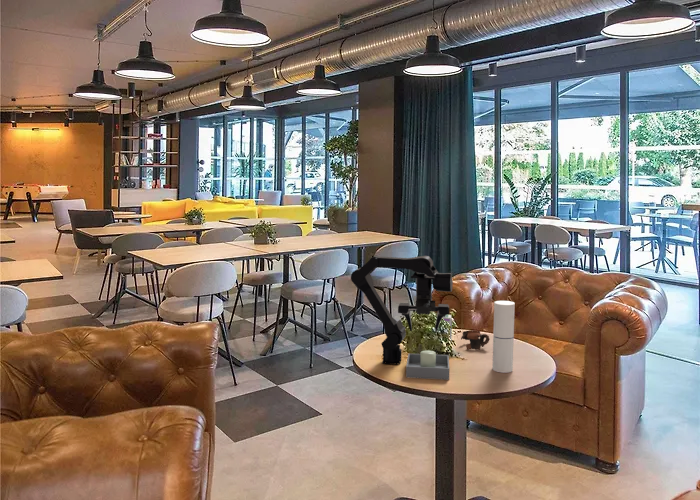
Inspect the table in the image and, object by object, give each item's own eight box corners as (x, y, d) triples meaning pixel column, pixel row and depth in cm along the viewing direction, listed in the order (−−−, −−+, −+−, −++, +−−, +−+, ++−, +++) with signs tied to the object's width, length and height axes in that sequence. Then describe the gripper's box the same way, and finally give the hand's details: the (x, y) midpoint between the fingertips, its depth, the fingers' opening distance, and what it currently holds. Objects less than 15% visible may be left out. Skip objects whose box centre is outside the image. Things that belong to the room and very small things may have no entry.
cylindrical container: (501, 373, 203) (503, 305, 199) (488, 368, 209) (490, 301, 206) (516, 370, 206) (519, 303, 203) (502, 365, 212) (505, 299, 209)
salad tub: (420, 370, 203) (420, 354, 202) (420, 365, 209) (420, 350, 208) (435, 371, 202) (435, 355, 202) (435, 366, 208) (435, 350, 207)
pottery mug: (459, 350, 232) (457, 330, 235) (466, 354, 239) (464, 335, 243) (487, 346, 226) (485, 326, 230) (494, 351, 234) (492, 331, 237)
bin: (406, 377, 200) (406, 366, 199) (408, 363, 214) (408, 353, 214) (449, 379, 197) (449, 368, 197) (448, 365, 212) (448, 355, 211)
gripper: (397, 294, 203) (396, 336, 205) (449, 295, 200) (449, 338, 202) (399, 288, 214) (398, 328, 216) (449, 289, 211) (448, 329, 213)
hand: (423, 331), depth 211 cm, fingers open, 9 cm apart
